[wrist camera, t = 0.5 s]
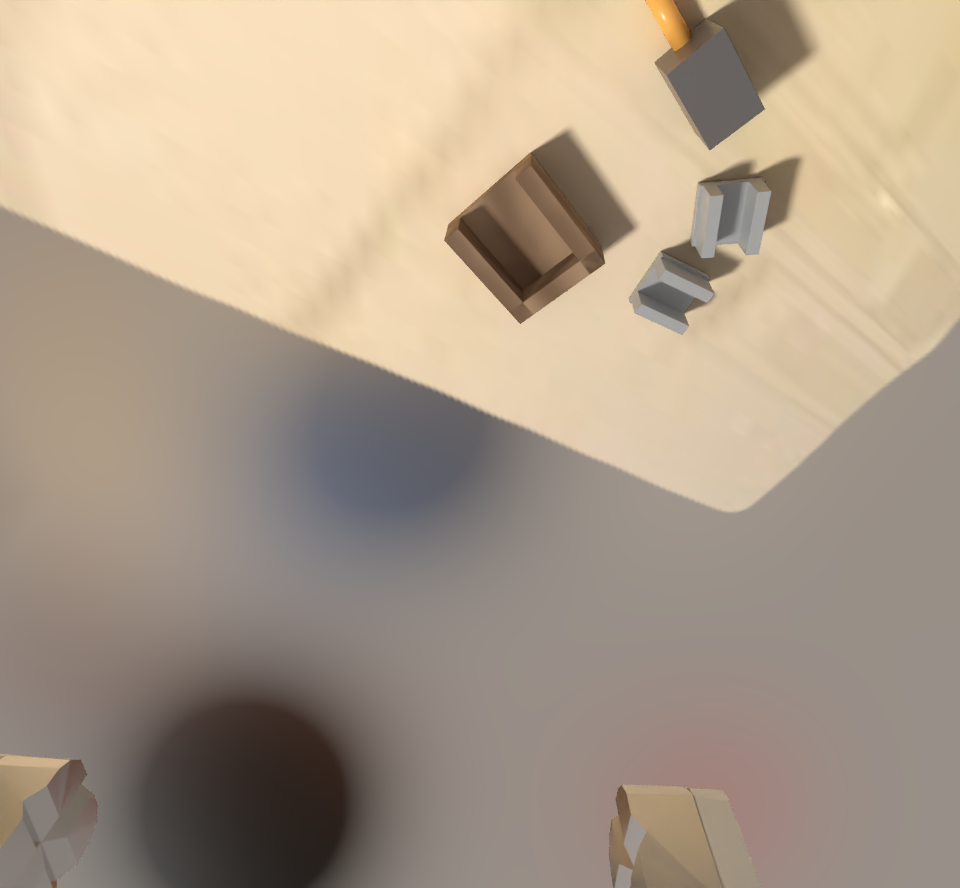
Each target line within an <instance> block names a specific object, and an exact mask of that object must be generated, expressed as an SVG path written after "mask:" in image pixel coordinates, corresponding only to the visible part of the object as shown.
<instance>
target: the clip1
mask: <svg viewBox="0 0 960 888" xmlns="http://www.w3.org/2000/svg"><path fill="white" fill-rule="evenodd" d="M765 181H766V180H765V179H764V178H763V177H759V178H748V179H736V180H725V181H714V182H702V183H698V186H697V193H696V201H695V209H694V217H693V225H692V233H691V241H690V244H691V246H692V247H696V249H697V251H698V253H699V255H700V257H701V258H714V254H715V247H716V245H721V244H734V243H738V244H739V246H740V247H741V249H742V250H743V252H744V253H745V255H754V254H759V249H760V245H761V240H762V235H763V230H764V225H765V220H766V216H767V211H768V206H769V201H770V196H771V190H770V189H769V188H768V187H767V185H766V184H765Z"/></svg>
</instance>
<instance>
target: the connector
mask: <svg viewBox="0 0 960 888" xmlns="http://www.w3.org/2000/svg"><path fill="white" fill-rule="evenodd" d="M645 1H646V3H647V5H648V6H649V8H650V10H651V12H652V14H653V15H654V17H655V19H656V21H657V22H658V24H659V26H660V28H661V30H662V31H663V33H664V35H665V37H666V39H667V40H668V42H669V44H670V46H671V47H672V48H671V49H670V50H668V51H667V52H666V53H665V54H664V55H663V56H662V57H660V58H659V59H658V60H657V61H656V62H655V65H656V66H657V68H658V70H659V71H660V73H661V75H662V77H663V78H664V80H665V82H666V83H667V85H668V87H669V89H670V90H671V92H672V94H673V95H674V97H675V99H676V101H677V102H678V104H679V106H680V107H681V109H682V111H683V113H684V114H685V116H686V118H687V119H688V121H689V123H690V125H691V126H692V128H693V130H694V132H695V133H696V134H697V135H698V137H699V138H700V139H701V140H702V141H703V143H704V144H705V145H706V146H707V148H708V149H709V150H711V149H712V148H714V147H715V146H716V145H718V144H719V143H720V142H722V141H723V140H724V139H726V138H727V137H728V136H730V135H731V134H732V133H734V132H735V131H736V130H738V129H739V128H740V127H742V126H743V125H744V124H746V123H747V122H748V121H750V120H751V119H752V118H754V117H755V116H756V115H758V114H759V113H760V112H762V111H763V110H764V109H765V108H764V106H763V104H762V102H761V100H760V98H759V96H758V94H757V92H756V90H755V88H754V86H753V84H752V82H751V80H750V78H749V77H748V75H747V73H746V71H745V69H744V67H743V65H742V63H741V61H740V59H739V57H738V55H737V53H736V51H735V49H734V47H733V45H732V43H731V41H730V39H729V37H728V35H727V33H726V31H725V29H724V27H722V26H720V25H718V24H716V23H714V22H712V21H710V20H708V19H705V20H703V21H702V22H701V23H700V24H699V25H698V26H696V27H695V28H694V29H693V30H692V31H691V32H690V31H689V29H688V27H687V25H686V23H685V21H684V19H683V18H682V16H681V14H680V12H679V10H678V8H677V6H676V5H675V3H674V1H673V0H645Z"/></svg>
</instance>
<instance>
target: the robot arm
mask: <svg viewBox="0 0 960 888" xmlns="http://www.w3.org/2000/svg"><path fill="white" fill-rule="evenodd" d="M86 776H87V773H86V770H85V768H84V765H83V763H82V761H81V760H79V759H78V760H77V759H63V758H47V757H31V756H15V755H5V754H0V888H57V880H58V879H60V878H61V877H62V876H63V875H65V874H66V873H67V872H68V871H70V870H71V869H72V868H74V867H75V866H76V865H77V864H78V863H79V861H80V859H81V858H82V855H83V854H84V852H85V851H86V849H87V847H88V845H89V844H90V841H91V838H92V835H93V832H94V829H95V826H96V823H97V814H98V805H97V801H96V799H95V795H94V794H93V793H92V792H91V791H89V790H88V789H87V788H86V787H84V786H83V785H82V784H81V783H82V782H83V780H84V779H85V777H86ZM616 804H617V810H618V815H617V816H616V817H614V818H613V819H612V820H611V827H610V833H609V860H610V868H611V869H610V870H611V876H612V883H613V888H762V886H761V883H760V880H759V878H758V875H757V872H756V870H755V867H754V864H753V862H752V859H751V857H750V854H749V851H748V849H747V846H746V843H745V841H744V838H743V836H742V833H741V830H740V828H739V825H738V822H737V820H736V817H735V815H734V812H733V809H732V807H731V804H730V801H729V799H728V797H727V796H726V794H725V793H724V792H723V791H722V790H720V789H706V788H686V787H681V786H648V785H621V786H620V787H619V788H618V792H617V796H616Z"/></svg>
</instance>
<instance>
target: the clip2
mask: <svg viewBox="0 0 960 888" xmlns="http://www.w3.org/2000/svg"><path fill="white" fill-rule="evenodd" d="M709 279H710V278H709V276H708V274H706V273H704V272H702V271H700V270H698V269H696V268H694V267H692V266H690V265H688V264H686V263H684V262H681V261H679V260H677V259H675V258H673V257H671V256H669V255H667V254H665V253H663V252H660V253H659V255H658V256H657V258H656V259H655V261H654V262H653V263H652V265H651V266H650V268H649V269H648V271H647V272H646V274H645V275H644V277H643V278H642V280H641V281H640V283H639V284H638V286H637V287H636V288H635V290H634V291H633V293H632V294H631V296H630V297H629V301H630V303H632V304H633V308H634V312H635V313H636V314H638V315H640V316H642V317H644V318H646V319H649V320H651V321H653V322H655V323H657V324H660V325H662V326H664V327H666V328H668V329H671V330H673V331H675V332H677V333H679V334H681V335H682V334H683V333H684V332H685V331H686V329H687V328H688V327H689V325H688V322H687V319H686V317H685V314H684V312H685V311H686V309H687V308H688V307H689V305H690V304H691V303H692V301H693V300H694V299H695V298H697V299H699V300H702V301H704V302H706V303H708V301H709V300H710V299H711V297H712V296H713V295H714V294H715V293H714V291H713V289H712V287H711V285H710V283H709V282H708V280H709Z"/></svg>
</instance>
